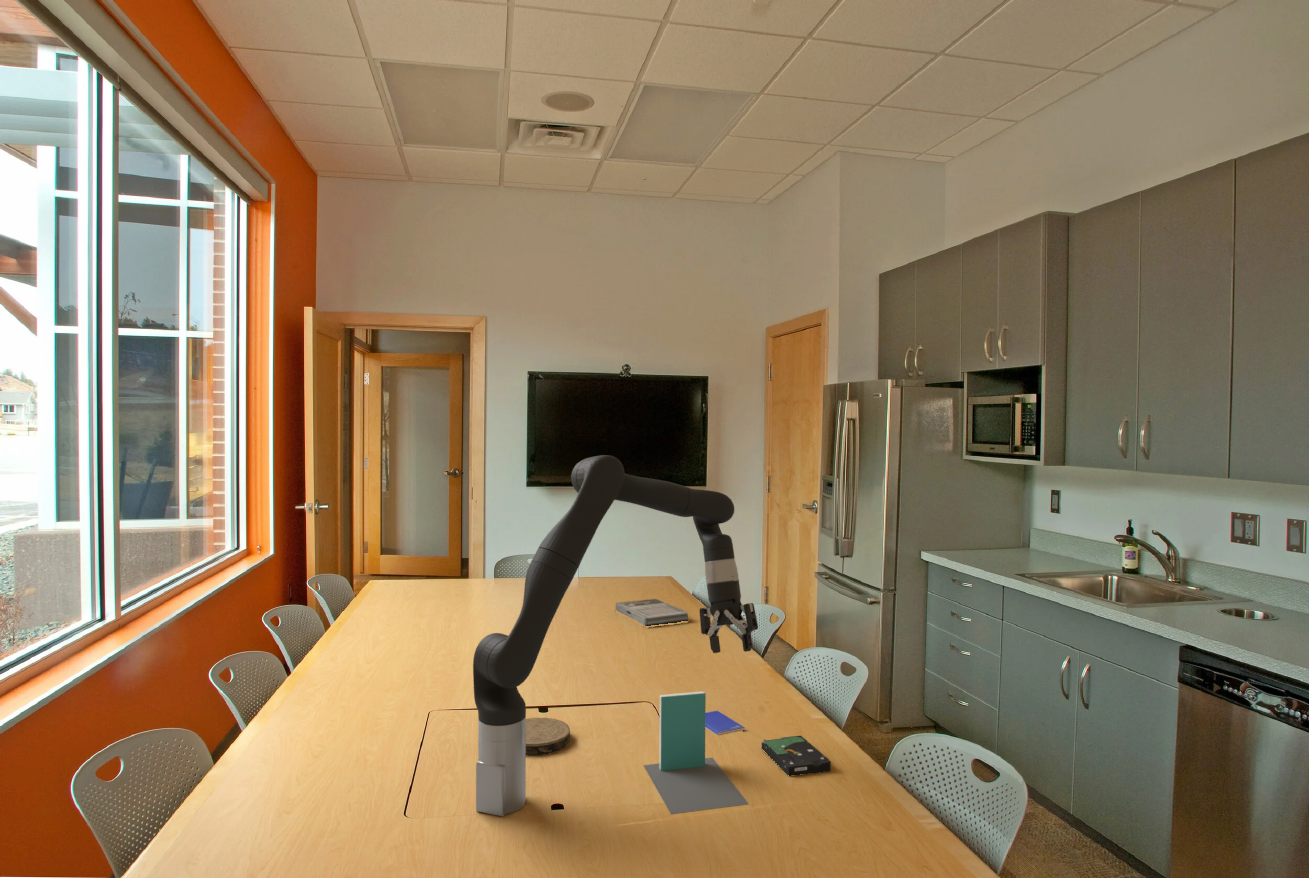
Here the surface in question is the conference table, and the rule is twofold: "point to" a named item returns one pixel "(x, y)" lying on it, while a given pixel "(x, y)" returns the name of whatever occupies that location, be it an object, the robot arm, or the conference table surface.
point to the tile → (682, 730)
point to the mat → (695, 788)
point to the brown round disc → (546, 736)
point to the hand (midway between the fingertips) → (732, 652)
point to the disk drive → (796, 755)
